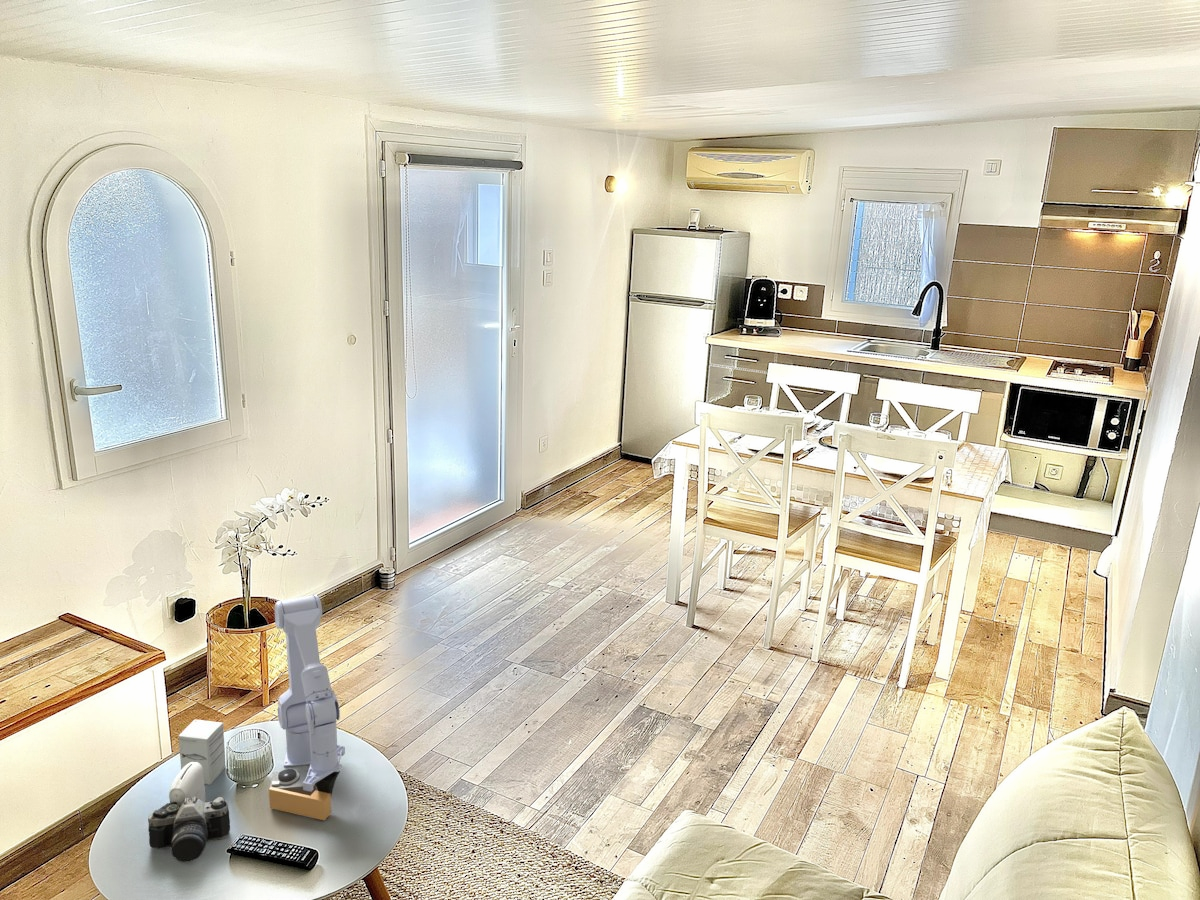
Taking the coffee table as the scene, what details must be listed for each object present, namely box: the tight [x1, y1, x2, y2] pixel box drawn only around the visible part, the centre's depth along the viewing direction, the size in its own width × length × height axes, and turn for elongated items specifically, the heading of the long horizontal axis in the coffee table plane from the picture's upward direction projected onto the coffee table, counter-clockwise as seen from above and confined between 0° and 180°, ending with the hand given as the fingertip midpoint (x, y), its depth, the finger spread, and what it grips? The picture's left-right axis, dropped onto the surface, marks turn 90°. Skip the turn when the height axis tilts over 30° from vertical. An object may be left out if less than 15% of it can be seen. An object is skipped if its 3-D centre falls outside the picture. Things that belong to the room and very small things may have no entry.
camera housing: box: [269, 768, 318, 796], centre depth 204 cm, size 6×10×6 cm, turn 103°
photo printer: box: [168, 762, 207, 805], centre depth 194 cm, size 10×4×12 cm, turn 2°
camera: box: [147, 796, 231, 863], centre depth 185 cm, size 16×10×10 cm, turn 109°
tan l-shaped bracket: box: [268, 786, 332, 821], centre depth 199 cm, size 3×14×5 cm, turn 76°
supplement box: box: [178, 718, 226, 786], centre depth 209 cm, size 7×7×13 cm
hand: (325, 798), depth 200 cm, fingers closed
